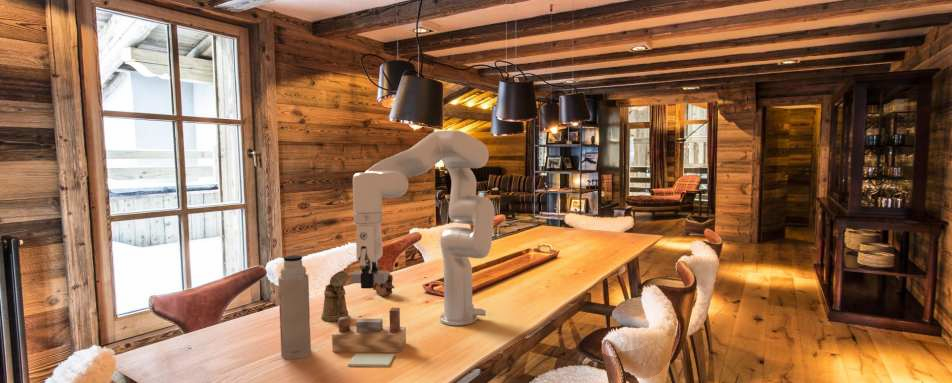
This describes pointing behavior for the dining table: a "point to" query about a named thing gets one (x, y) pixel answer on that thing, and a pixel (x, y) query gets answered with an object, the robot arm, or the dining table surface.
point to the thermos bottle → (294, 309)
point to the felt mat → (371, 360)
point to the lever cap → (378, 276)
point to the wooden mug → (335, 298)
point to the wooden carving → (384, 286)
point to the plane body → (370, 335)
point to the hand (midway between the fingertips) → (369, 284)
